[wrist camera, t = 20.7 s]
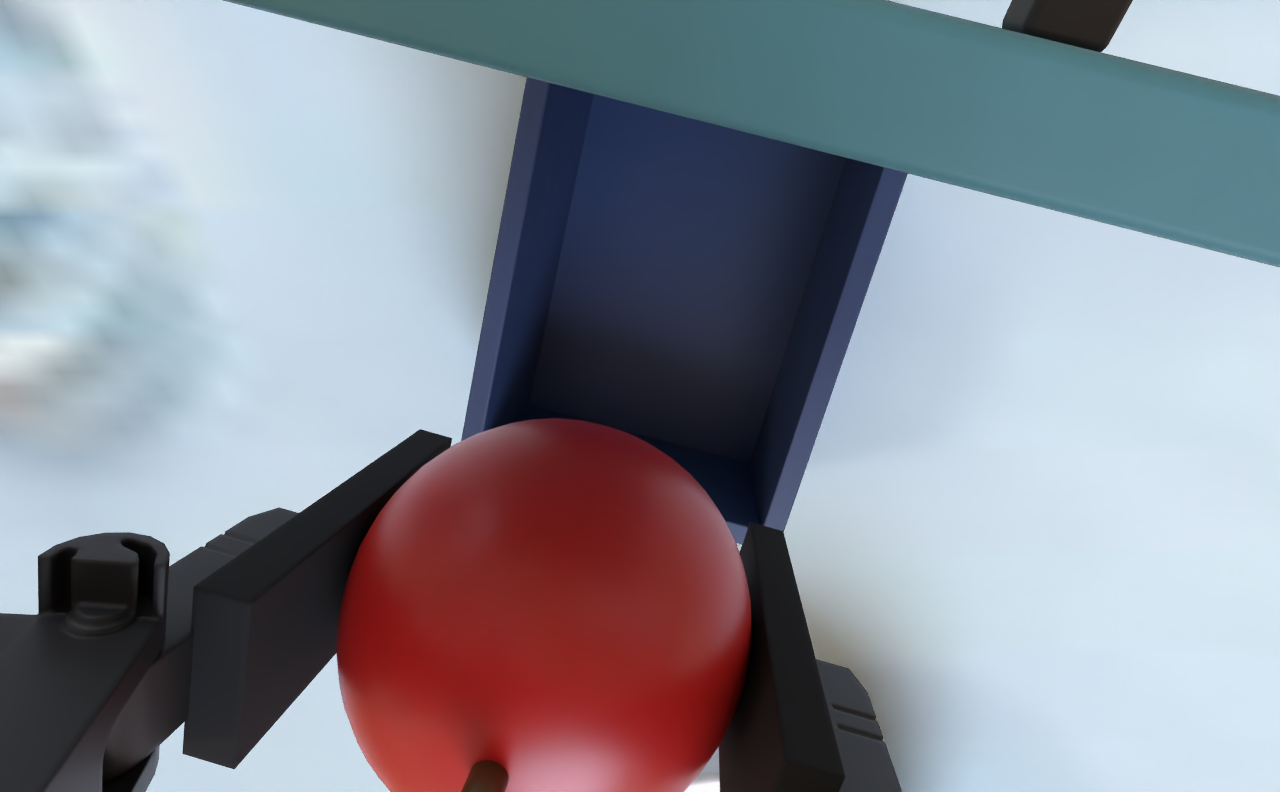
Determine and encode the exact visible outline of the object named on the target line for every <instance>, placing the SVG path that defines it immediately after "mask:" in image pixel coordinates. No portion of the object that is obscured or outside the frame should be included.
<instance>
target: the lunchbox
mask: <svg viewBox="0 0 1280 792" xmlns="http://www.w3.org/2000/svg"><path fill="white" fill-rule="evenodd" d="M907 174H908V173H905V172H901V171H897V170H893V169H889V168H885V167H881V166H877V165H873V164H869V163H865V162H861V161H857V160H853V159H849V158H845V157H841V156H837V155H833V154H829V153H825V152H822V151H818V150H814V149H810V148H806V147H802V146H798V145H794V144H790V143H786V142H782V141H778V140H774V139H770V138H766V137H762V136H758V135H754V134H750V133H746V132H742V131H738V130H734V129H730V128H727V127H723V126H719V125H715V124H711V123H707V122H703V121H699V120H695V119H691V118H687V117H683V116H679V115H675V114H671V113H667V112H663V111H659V110H655V109H651V108H647V107H643V106H639V105H635V104H631V103H628V102H624V101H620V100H616V99H612V98H608V97H604V96H600V95H596V94H592V93H588V92H584V91H580V90H576V89H572V88H568V87H564V86H560V85H556V84H552V83H548V82H544V81H540V80H536V79H532V78H529V77H527V79H526V85H525V90H524V96H523V101H522V107H521V112H520V118H519V123H518V129H517V135H516V140H515V146H514V151H513V157H512V162H511V168H510V173H509V179H508V184H507V190H506V196H505V201H504V207H503V212H502V218H501V223H500V229H499V234H498V240H497V245H496V251H495V257H494V262H493V268H492V273H491V279H490V284H489V290H488V295H487V301H486V306H485V312H484V318H483V323H482V329H481V334H480V340H479V345H478V351H477V356H476V362H475V367H474V373H473V379H472V384H471V390H470V395H469V401H468V406H467V412H466V417H465V423H464V428H463V434H462V440H461V441H463V440H465V439H467V438H469V437H471V436H473V435H475V434H478V433H481V432H484V431H487V430H490V429H493V428H497V427H500V426H503V425H506V424H509V423H515V422H521V421H526V420H532V419H552V418H559V419H571V420H582V421H587V422H592V423H596V424H601V425H606V426H609V427H612V428H615V429H618V430H621V431H624V432H627V433H629V434H631V435H633V436H635V437H637V438H639V439H641V440H643V441H645V442H647V443H649V444H651V445H653V446H654V447H656V448H657V449H659V450H660V451H662V452H663V453H665V454H666V455H668V456H669V457H671V458H672V459H673V460H674V461H676V462H677V463H678V464H679V465H680V466H682V467H683V468H684V469H685V470H686V471H687V472H689V473H690V474H691V475H692V477H693V478H694V479H695V480H696V481H697V482H698V483H699V484H700V485H701V486H702V488H703V489H704V490H705V491H706V492H707V494H708V495H709V497H710V498H711V499H712V501H713V502H714V504H715V505H716V507H717V508H718V510H719V511H720V513H721V515H722V516H723V518H724V520H725V522H726V524H727V526H728V528H729V530H730V532H731V534H732V536H733V538H734V539H735V542H736V543H739V544H743V541H744V538H745V535H746V532H747V530H748V527H749V524H750V522H752V523H756V524H759V525H763V526H767V527H770V528H774V529H777V530H781V531H783V532H784V529H785V526H786V524H787V521H788V518H789V515H790V512H791V509H792V506H793V503H794V500H795V498H796V495H797V492H798V489H799V486H800V483H801V480H802V477H803V474H804V472H805V469H806V466H807V463H808V460H809V457H810V454H811V451H812V448H813V446H814V443H815V440H816V437H817V434H818V431H819V428H820V425H821V422H822V420H823V417H824V414H825V411H826V408H827V405H828V402H829V399H830V396H831V394H832V391H833V388H834V385H835V382H836V379H837V376H838V373H839V370H840V368H841V365H842V362H843V359H844V356H845V353H846V350H847V347H848V344H849V342H850V339H851V336H852V333H853V330H854V327H855V324H856V321H857V318H858V316H859V313H860V310H861V307H862V304H863V301H864V298H865V295H866V292H867V290H868V287H869V284H870V281H871V278H872V275H873V272H874V269H875V266H876V264H877V261H878V258H879V255H880V252H881V249H882V246H883V243H884V240H885V238H886V235H887V232H888V229H889V226H890V223H891V220H892V217H893V214H894V212H895V209H896V206H897V203H898V200H899V197H900V194H901V191H902V188H903V186H904V183H905V180H906V177H907Z"/></svg>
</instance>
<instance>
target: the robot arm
mask: <svg viewBox="0 0 1280 792" xmlns="http://www.w3.org/2000/svg"><path fill="white" fill-rule="evenodd" d="M451 441H452V438H449V437H446V436H442V435H438V434H435V433H431V432H428V431H424V430H421V429H420V430H419V431H417V432H416V433H414V434H413V435H411V436H410V437H408V438H407V439H406V440H404V441H403V442H401V443H400V444H398V445H397V446H395V447H394V448H393V449H391V450H390V451H388V452H387V453H385V454H384V455H382V456H381V457H380V458H378V459H377V460H375V461H374V462H372V463H371V464H370V465H368V466H367V467H365V468H364V469H362V470H361V471H359V472H358V473H357V474H355V475H354V476H352V477H351V478H349V479H348V480H346V481H345V482H344V483H342V484H341V485H339V486H338V487H336V488H335V489H333V490H332V491H331V492H329V493H328V494H326V495H325V496H323V497H322V498H320V499H319V500H318V501H316V502H315V503H313V504H312V505H310V506H309V507H307V508H306V509H305V510H303V511H302V512H300V513H296V512H293V511H289V510H286V509H282V508H276V509H273V510H270V511H266V512H263V513H260V514H257V515H253V516H250V517H248V518H246V519H245V520H243V521H241V522H240V523H238V524H237V525H235V526H233V527H232V528H230V529H229V530H227V531H226V532H225V534H224V535H222V534H221V535H219V536H217V537H216V538H214V539H213V540H211V541H209V542H208V543H206V546H205V547H200V548H198V549H197V550H195V551H193V552H192V553H190V554H189V555H187V556H185V557H184V558H182V559H181V560H179V561H177V562H176V563H174V564H173V565H171V566H169V556H170V553H169V551H168V550H167V548H166V546H165V544H164V543H162V542H160V541H158V540H156V539H154V538H153V537H151V536H146V535H140V534H135V533H101V534H95V535H89V536H83V537H78V538H75V539H72V540H69V541H67V542H64V543H61V544H58V545H55V546H54V547H52V548H50V549H49V550H47V551H46V552H44V553H42V554H41V555H39V556H38V598H39V613H38V615H24V614H3V613H0V792H145V791H146V790H147V788H148V786H149V784H150V782H151V780H152V778H153V776H154V774H155V771H156V767H157V764H158V760H159V745H160V744H161V743H162V742H163V741H164V740H165V739H166V738H167V737H169V736H170V735H171V734H172V733H173V732H174V731H175V730H176V729H177V728H178V727H179V726H180V725H181V724H182V723H183V722H184V721H185V725H184V741H183V754H185V755H189V756H192V757H195V758H199V759H202V760H205V761H209V762H212V763H215V764H219V765H222V766H225V767H229V768H232V769H235V768H236V767H237V766H238V764H239V763H240V762H241V761H242V760H243V759H244V758H245V756H246V755H247V754H248V753H249V752H250V751H251V750H252V748H253V747H254V746H255V745H256V744H257V743H258V742H259V740H260V739H261V738H262V737H263V736H264V735H265V734H266V732H267V731H268V730H269V729H270V728H271V727H272V726H273V724H274V723H275V722H276V721H277V720H278V719H279V718H280V716H281V715H282V714H283V713H284V712H285V711H286V710H287V708H288V707H289V706H290V705H291V704H292V703H293V702H294V701H295V699H296V698H297V697H298V696H299V695H300V694H301V693H302V691H303V690H304V689H305V688H306V687H307V686H308V685H309V683H310V682H311V681H312V680H313V679H314V678H315V677H316V675H317V674H318V673H319V672H320V671H321V670H322V669H323V667H324V666H325V665H326V664H327V663H328V662H329V661H330V659H331V658H332V657H333V656H334V655H335V654H336V653H337V650H336V646H337V630H338V620H339V612H340V606H341V601H342V597H343V592H344V587H345V584H346V581H347V578H348V575H349V572H350V570H351V567H352V564H353V562H354V559H355V557H356V554H357V551H358V549H359V546H360V545H361V543H362V541H363V539H364V538H365V536H366V534H367V533H368V531H369V529H370V527H371V526H372V524H373V522H374V521H375V519H376V517H377V516H378V514H379V513H380V511H381V510H382V508H383V507H384V506H385V505H386V504H387V502H388V501H389V500H390V499H391V497H392V496H393V495H394V494H395V492H396V491H397V490H398V489H399V488H400V487H401V486H402V485H403V484H404V483H405V482H406V481H407V480H408V479H409V478H410V477H411V476H412V475H414V474H415V473H416V472H417V471H418V470H419V469H420V468H421V467H422V466H423V465H425V464H426V463H428V462H429V461H431V460H432V459H434V458H435V457H437V456H438V455H440V454H441V453H443V452H444V451H446V450H447V449H449V448H450V446H451ZM740 556H741V559H742V562H743V566H744V570H745V574H746V578H747V584H748V589H749V594H750V600H751V623H752V641H751V650H750V659H749V666H748V670H747V675H746V680H745V684H744V687H743V691H742V695H741V698H740V702H739V705H738V707H737V709H736V711H735V714H734V716H733V718H732V721H731V723H730V725H729V727H728V729H727V732H726V734H725V736H724V738H723V740H722V742H721V744H720V745H719V780H720V792H902V790H901V788H900V785H899V782H898V779H897V776H896V773H895V770H894V767H893V765H892V762H891V759H890V756H889V753H888V750H887V747H886V744H885V742H883V741H882V739H883V736H882V733H881V730H880V727H879V724H878V722H877V721H875V718H876V716H875V713H874V710H873V707H872V704H871V701H870V699H869V696H868V693H867V691H866V690H865V689H864V688H863V686H862V685H861V684H860V682H859V681H858V680H857V679H856V677H855V676H854V675H853V673H852V672H851V671H850V670H849V669H848V668H844V667H841V666H837V665H834V664H830V663H827V662H823V661H820V660H816V659H815V655H814V651H813V647H812V643H811V639H810V635H809V631H808V627H807V623H806V620H805V616H804V612H803V608H802V604H801V600H800V596H799V592H798V588H797V584H796V580H795V576H794V572H793V568H792V564H791V561H790V557H789V553H788V549H787V545H786V541H785V537H784V533H783V531H781V530H777V529H774V528H770V527H767V526H763V525H759V524H756V523H752V522H750V524H749V527H748V530H747V532H746V535H745V538H744V541H743V544H742V547H741V550H740Z"/></svg>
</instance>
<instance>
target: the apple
mask: <svg viewBox="0 0 1280 792" xmlns="http://www.w3.org/2000/svg"><path fill="white" fill-rule="evenodd" d="M751 641H752V623H751V600H750V594H749V589H748V584H747V578H746V574H745V570H744V566H743V562H742V559H741V556H740V553H739V550H738V548H737V545H736V542H735V539H734V538H733V536H732V534H731V532H730V530H729V528H728V526H727V524H726V522H725V520H724V518H723V516H722V515H721V513H720V511H719V510H718V508H717V507H716V505H715V504H714V502H713V501H712V499H711V498H710V497H709V495H708V494H707V492H706V491H705V490H704V489H703V488H702V486H701V485H700V484H699V483H698V482H697V481H696V480H695V479H694V478H693V477H692V475H691V474H690V473H689V472H687V471H686V470H685V469H684V468H683V467H682V466H680V465H679V464H678V463H677V462H676V461H674V460H673V459H672V458H671V457H669V456H668V455H666V454H665V453H663V452H662V451H660V450H659V449H657V448H656V447H654V446H653V445H651V444H649V443H647V442H645V441H643V440H641V439H639V438H637V437H635V436H633V435H631V434H629V433H627V432H624V431H621V430H618V429H615V428H612V427H609V426H606V425H601V424H596V423H592V422H587V421H582V420H571V419H559V418H552V419H532V420H526V421H521V422H515V423H509V424H506V425H503V426H500V427H497V428H493V429H490V430H487V431H484V432H481V433H478V434H475V435H473V436H471V437H469V438H467V439H465V440H463V441H461V442H459V443H457V444H455V445H453V446H452V447H450V448H449V449H447V450H446V451H444V452H443V453H441V454H440V455H438V456H437V457H435V458H434V459H432V460H431V461H429V462H428V463H426V464H425V465H423V466H422V467H421V468H420V469H419V470H418V471H417V472H416V473H415V474H414V475H412V476H411V477H410V478H409V479H408V480H407V481H406V482H405V483H404V484H403V485H402V486H401V487H400V488H399V489H398V490H397V491H396V492H395V494H394V495H393V496H392V497H391V499H390V500H389V501H388V502H387V504H386V505H385V506H384V507H383V508H382V510H381V511H380V513H379V514H378V516H377V517H376V519H375V521H374V522H373V524H372V526H371V527H370V529H369V531H368V533H367V534H366V536H365V538H364V539H363V541H362V543H361V545H360V546H359V549H358V551H357V554H356V557H355V559H354V562H353V564H352V567H351V570H350V572H349V575H348V578H347V581H346V584H345V587H344V592H343V597H342V601H341V606H340V612H339V620H338V630H337V646H336V650H337V662H338V674H339V683H340V690H341V695H342V699H343V703H344V708H345V711H346V713H347V716H348V719H349V721H350V724H351V727H352V729H353V732H354V735H355V737H356V740H357V743H358V745H359V746H360V748H361V750H362V752H363V754H364V756H365V758H366V760H367V761H368V763H369V764H370V766H371V767H372V769H373V770H374V771H375V773H376V774H377V776H378V777H379V778H380V780H381V781H382V782H383V783H384V784H385V785H386V787H387V788H388V789H389V790H390V791H391V792H684V791H685V790H686V789H687V788H688V787H689V786H690V785H691V783H692V782H693V781H694V780H695V779H696V778H697V777H698V776H699V774H700V773H701V771H702V770H703V769H704V767H705V766H706V765H707V763H708V762H709V760H710V759H711V757H712V756H713V754H714V753H715V751H716V750H717V748H718V747H719V745H720V744H721V742H722V740H723V738H724V736H725V734H726V732H727V729H728V727H729V725H730V723H731V721H732V718H733V716H734V714H735V711H736V709H737V707H738V705H739V702H740V698H741V695H742V691H743V687H744V684H745V680H746V675H747V670H748V666H749V659H750V650H751Z"/></svg>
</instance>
